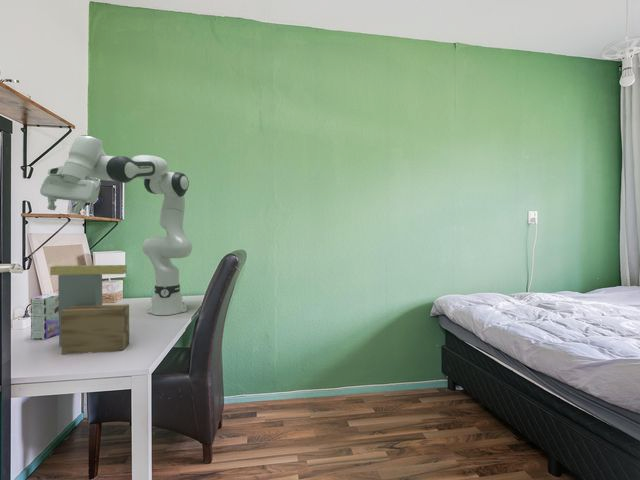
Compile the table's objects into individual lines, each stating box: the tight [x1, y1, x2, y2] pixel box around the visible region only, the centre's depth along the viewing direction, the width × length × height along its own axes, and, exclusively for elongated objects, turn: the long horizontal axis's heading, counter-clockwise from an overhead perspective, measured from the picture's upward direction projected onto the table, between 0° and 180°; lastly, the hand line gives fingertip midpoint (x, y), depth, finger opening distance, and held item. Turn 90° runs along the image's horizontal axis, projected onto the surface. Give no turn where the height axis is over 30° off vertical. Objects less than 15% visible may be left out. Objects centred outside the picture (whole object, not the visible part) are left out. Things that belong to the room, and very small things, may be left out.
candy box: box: [30, 291, 59, 341], centre depth 136 cm, size 14×6×16 cm, turn 178°
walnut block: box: [60, 303, 130, 355], centre depth 120 cm, size 7×19×15 cm, turn 102°
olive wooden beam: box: [49, 264, 128, 276], centre depth 127 cm, size 4×24×3 cm, turn 102°
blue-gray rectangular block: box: [57, 274, 103, 347], centre depth 127 cm, size 6×12×26 cm, turn 102°
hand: (62, 211), depth 118 cm, fingers open, 8 cm apart
